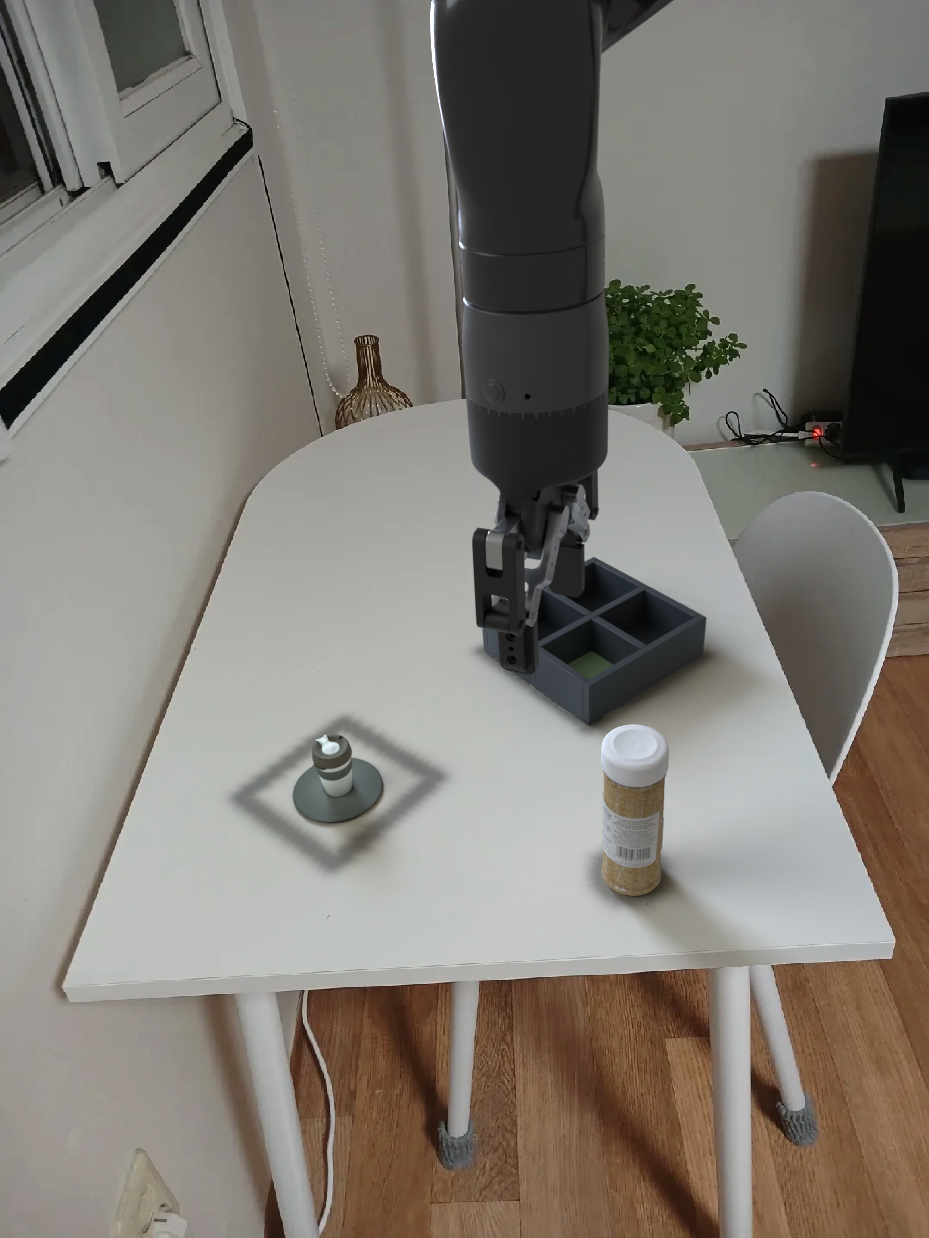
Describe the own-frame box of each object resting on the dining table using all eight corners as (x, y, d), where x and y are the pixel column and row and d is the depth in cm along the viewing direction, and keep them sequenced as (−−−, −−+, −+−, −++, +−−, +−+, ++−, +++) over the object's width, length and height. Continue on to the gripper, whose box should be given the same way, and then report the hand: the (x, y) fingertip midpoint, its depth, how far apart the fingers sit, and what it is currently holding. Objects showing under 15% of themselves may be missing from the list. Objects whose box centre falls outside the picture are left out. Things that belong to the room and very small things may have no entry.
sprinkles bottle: (667, 860, 73) (676, 729, 65) (652, 906, 70) (660, 774, 62) (609, 844, 75) (612, 715, 67) (592, 888, 72) (592, 758, 64)
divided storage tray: (703, 655, 94) (706, 617, 91) (588, 725, 86) (589, 686, 84) (593, 592, 104) (594, 556, 101) (483, 650, 97) (480, 613, 94)
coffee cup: (335, 863, 75) (325, 820, 73) (241, 797, 82) (228, 755, 79) (436, 777, 82) (431, 734, 80) (342, 722, 89) (334, 681, 86)
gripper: (559, 443, 43) (564, 713, 53) (642, 338, 54) (634, 579, 63) (412, 426, 46) (441, 685, 55) (518, 329, 57) (528, 561, 66)
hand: (544, 628), depth 59 cm, fingers open, 8 cm apart
